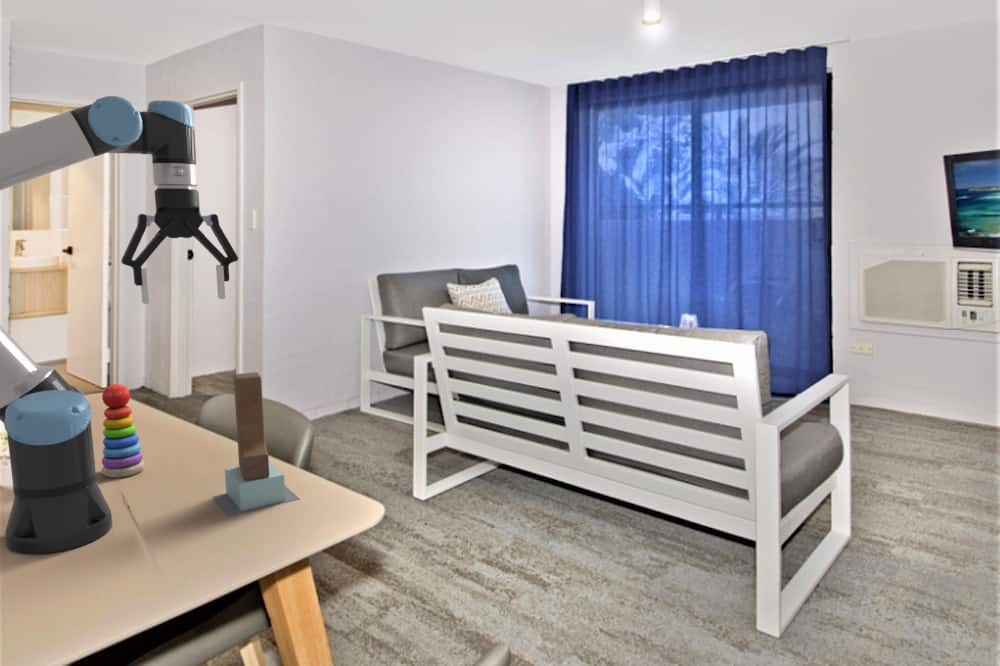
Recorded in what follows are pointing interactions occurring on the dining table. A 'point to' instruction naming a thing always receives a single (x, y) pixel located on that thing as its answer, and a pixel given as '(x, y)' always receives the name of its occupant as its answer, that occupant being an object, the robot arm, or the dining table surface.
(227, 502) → the mat
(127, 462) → the stacking toy
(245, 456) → the wooden block
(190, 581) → the dining table surface
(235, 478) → the plinth
